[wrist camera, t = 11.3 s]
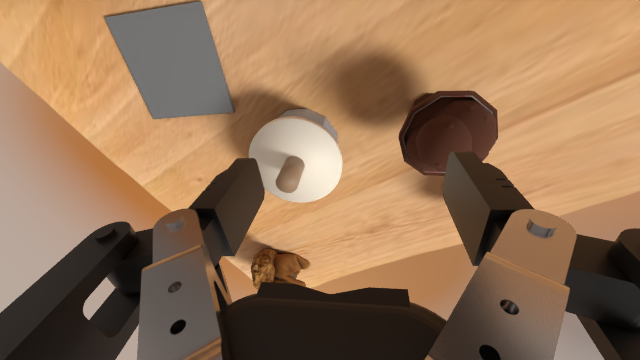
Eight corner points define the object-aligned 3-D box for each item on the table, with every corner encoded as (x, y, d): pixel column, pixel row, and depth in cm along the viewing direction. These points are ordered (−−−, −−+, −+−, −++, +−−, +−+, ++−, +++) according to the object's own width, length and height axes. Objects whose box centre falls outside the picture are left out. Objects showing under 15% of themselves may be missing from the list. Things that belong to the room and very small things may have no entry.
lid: (240, 120, 37) (220, 138, 32) (338, 112, 34) (334, 130, 29) (264, 199, 44) (251, 223, 39) (346, 196, 42) (343, 223, 36)
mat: (107, 17, 37) (104, 17, 37) (201, 1, 35) (199, 1, 34) (155, 118, 45) (153, 119, 45) (234, 111, 43) (233, 112, 42)
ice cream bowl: (400, 153, 43) (417, 211, 30) (385, 87, 37) (397, 125, 25) (471, 134, 40) (522, 192, 27) (465, 60, 34) (524, 88, 22)
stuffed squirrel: (290, 281, 66) (275, 335, 55) (246, 251, 62) (221, 303, 51) (316, 266, 62) (307, 321, 51) (271, 232, 57) (250, 284, 46)
